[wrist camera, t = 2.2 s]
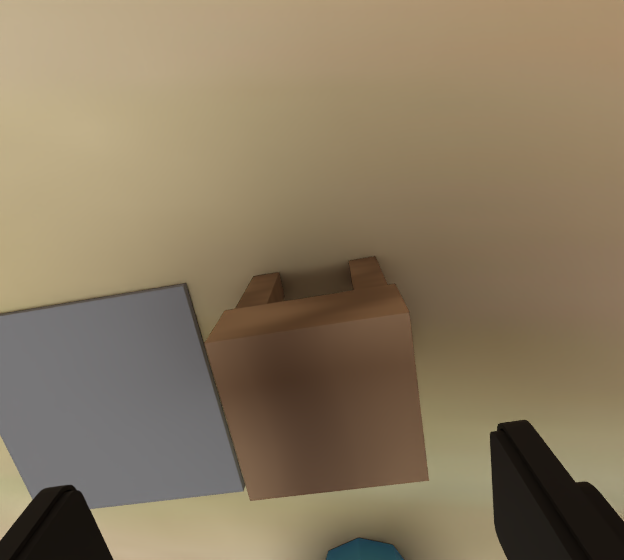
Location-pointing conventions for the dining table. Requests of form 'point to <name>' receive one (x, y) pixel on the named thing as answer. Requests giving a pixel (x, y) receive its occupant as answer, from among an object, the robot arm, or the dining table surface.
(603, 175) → the dining table surface
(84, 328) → the mat
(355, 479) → the brown box with pegs
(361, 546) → the cup
